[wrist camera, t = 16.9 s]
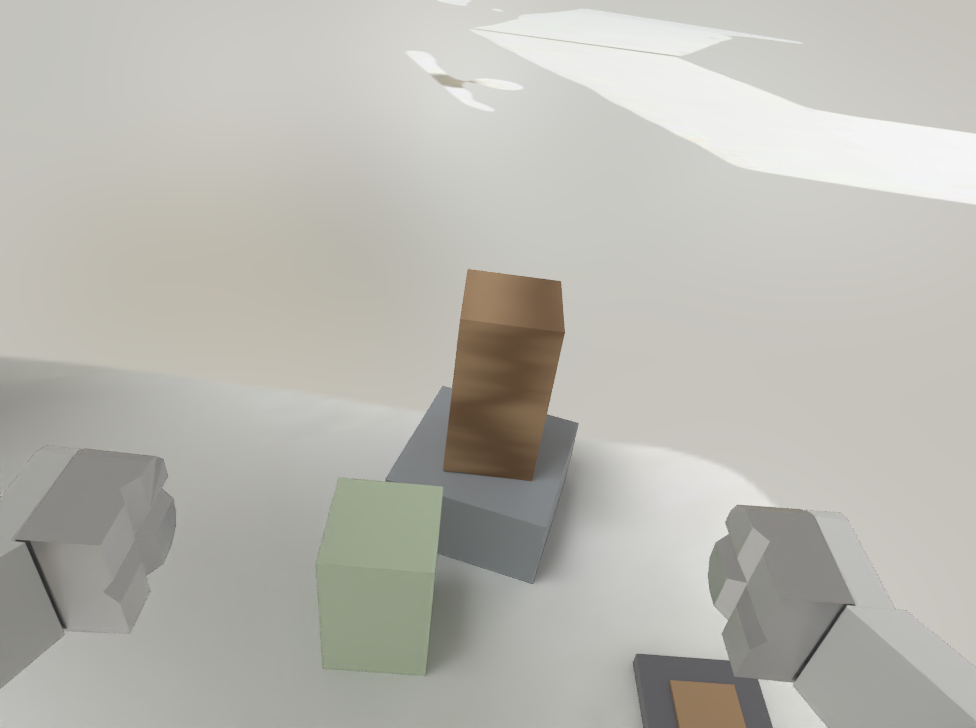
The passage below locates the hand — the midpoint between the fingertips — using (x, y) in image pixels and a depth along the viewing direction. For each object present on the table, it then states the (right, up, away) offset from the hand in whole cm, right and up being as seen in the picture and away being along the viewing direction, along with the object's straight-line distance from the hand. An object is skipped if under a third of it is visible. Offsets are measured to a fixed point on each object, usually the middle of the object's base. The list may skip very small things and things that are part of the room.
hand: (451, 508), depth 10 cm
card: (+11, -15, +23) cm, 30 cm away
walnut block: (+1, -3, +31) cm, 31 cm away
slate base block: (0, -7, +34) cm, 34 cm away
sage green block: (-5, -11, +26) cm, 29 cm away
